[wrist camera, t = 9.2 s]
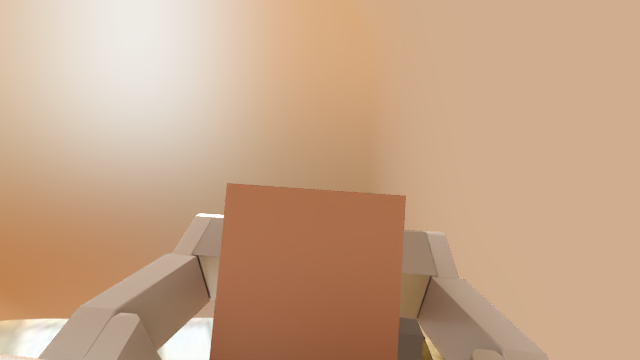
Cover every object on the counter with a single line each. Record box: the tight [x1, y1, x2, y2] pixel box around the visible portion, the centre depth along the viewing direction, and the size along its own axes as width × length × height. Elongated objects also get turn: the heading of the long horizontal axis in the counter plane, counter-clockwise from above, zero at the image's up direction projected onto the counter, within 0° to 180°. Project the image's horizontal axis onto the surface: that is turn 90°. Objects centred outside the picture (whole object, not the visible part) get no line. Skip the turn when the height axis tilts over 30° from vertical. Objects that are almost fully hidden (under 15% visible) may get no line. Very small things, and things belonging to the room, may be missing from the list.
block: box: [210, 183, 406, 360], centre depth 18 cm, size 22×4×4 cm, turn 176°
